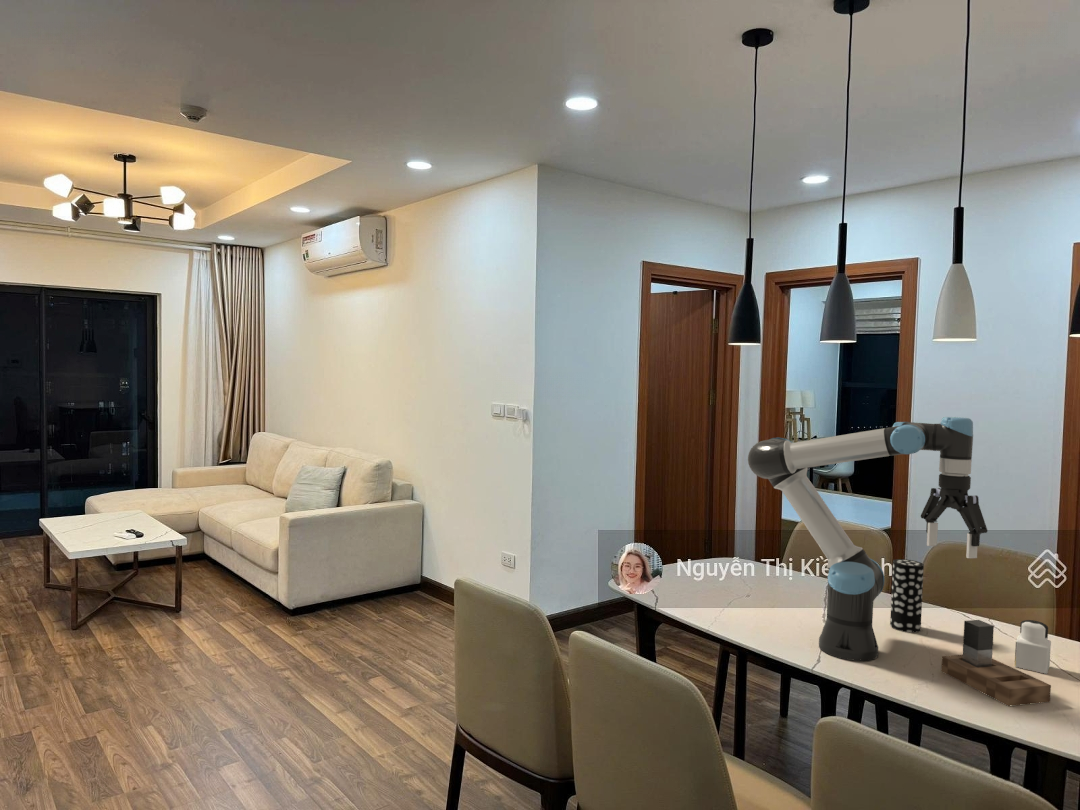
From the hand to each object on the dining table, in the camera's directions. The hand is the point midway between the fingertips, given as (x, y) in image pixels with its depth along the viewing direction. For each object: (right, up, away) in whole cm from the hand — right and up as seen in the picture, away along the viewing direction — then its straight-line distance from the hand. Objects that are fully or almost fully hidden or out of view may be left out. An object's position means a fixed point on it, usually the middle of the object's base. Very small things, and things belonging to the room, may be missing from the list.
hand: (951, 551), depth 196 cm
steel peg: (-1, -29, -13) cm, 32 cm away
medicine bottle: (+18, -30, -5) cm, 35 cm away
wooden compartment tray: (0, -30, -18) cm, 35 cm away
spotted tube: (-1, -28, +23) cm, 36 cm away
